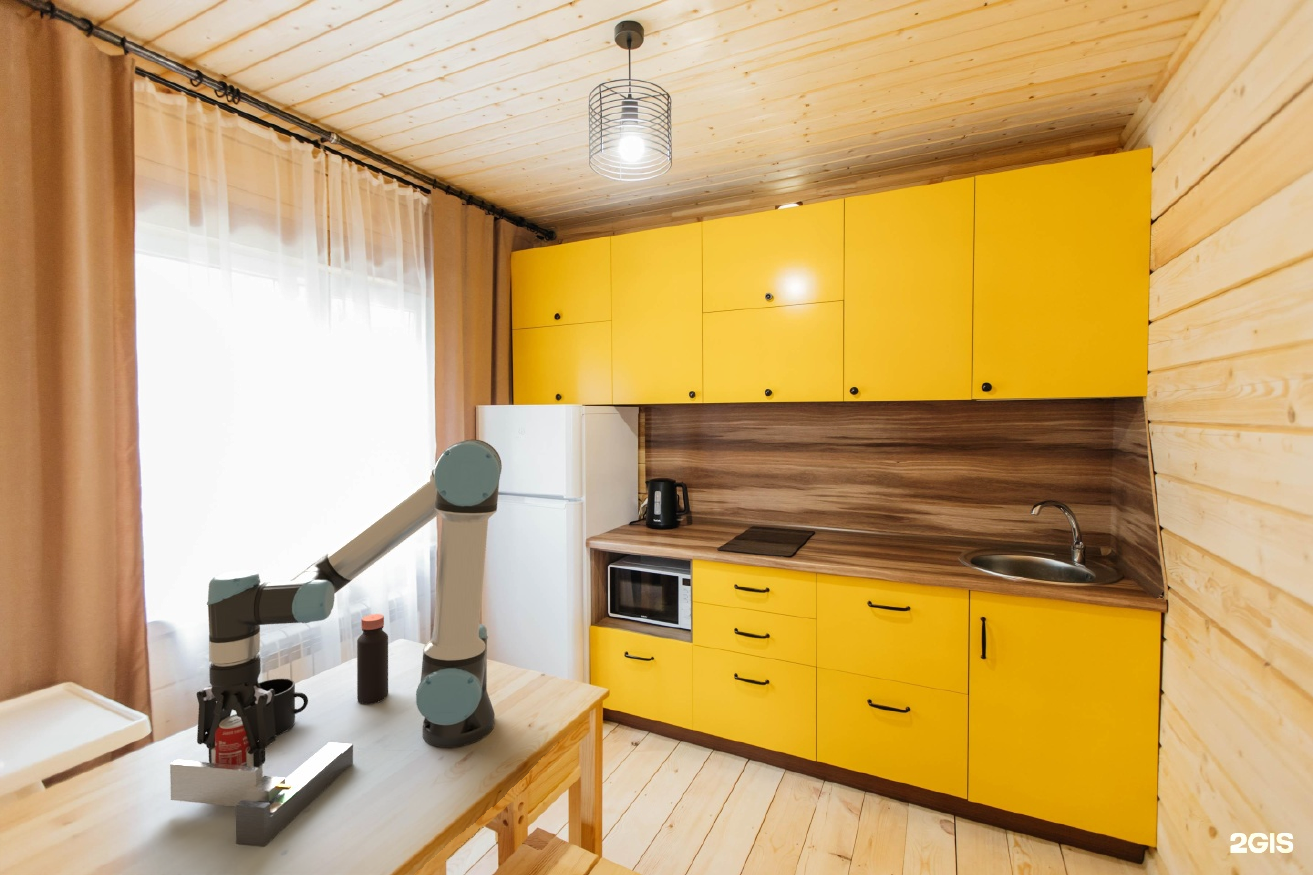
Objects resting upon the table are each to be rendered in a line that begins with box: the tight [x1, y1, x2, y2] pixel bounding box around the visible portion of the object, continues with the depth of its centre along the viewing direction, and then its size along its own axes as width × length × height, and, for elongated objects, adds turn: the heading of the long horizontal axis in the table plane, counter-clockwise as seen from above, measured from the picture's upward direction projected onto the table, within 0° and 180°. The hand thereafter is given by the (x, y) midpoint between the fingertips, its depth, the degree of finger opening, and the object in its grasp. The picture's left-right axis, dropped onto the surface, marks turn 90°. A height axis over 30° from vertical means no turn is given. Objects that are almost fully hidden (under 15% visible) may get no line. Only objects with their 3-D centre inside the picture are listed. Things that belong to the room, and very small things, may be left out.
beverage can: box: [215, 713, 251, 766], centre depth 104 cm, size 6×6×12 cm
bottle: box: [356, 613, 389, 705], centre depth 138 cm, size 7×7×20 cm
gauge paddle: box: [169, 759, 292, 807], centre depth 97 cm, size 22×4×6 cm, turn 84°
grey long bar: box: [235, 741, 354, 848], centre depth 102 cm, size 5×22×6 cm, turn 174°
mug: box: [244, 678, 309, 737], centre depth 125 cm, size 9×12×9 cm
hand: (237, 780), depth 104 cm, fingers closed on beverage can, 6 cm apart
